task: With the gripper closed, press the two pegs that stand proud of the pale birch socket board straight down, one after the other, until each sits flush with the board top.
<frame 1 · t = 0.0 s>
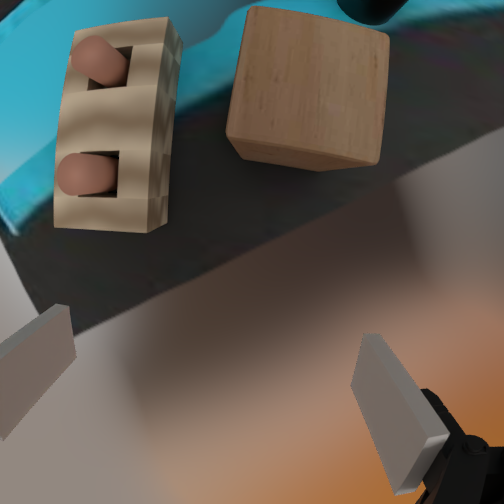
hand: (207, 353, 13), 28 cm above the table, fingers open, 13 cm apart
peg 1: (104, 64, 27), point 9 cm above the table, slide at 5.0 cm
peg 2: (92, 174, 30), point 9 cm above the table, slide at 5.0 cm
water bottle: (364, 2, 33), on the table
socket board: (129, 128, 38), on the table
wooden block: (286, 126, 38), on the table
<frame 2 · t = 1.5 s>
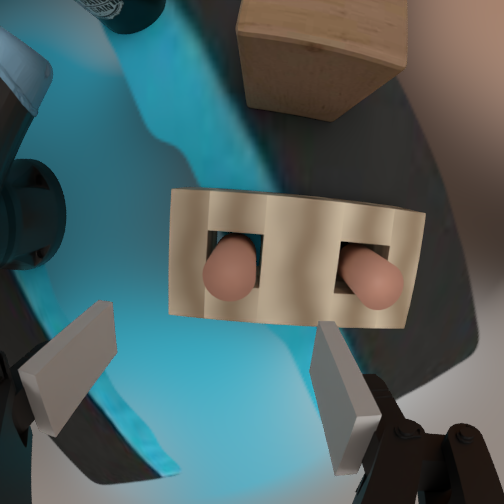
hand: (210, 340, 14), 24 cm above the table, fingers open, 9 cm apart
peg 1: (232, 263, 28), point 9 cm above the table, slide at 5.0 cm
peg 2: (366, 273, 28), point 9 cm above the table, slide at 5.0 cm
water bottle: (135, 8, 31), on the table
socket board: (291, 247, 37), on the table
wooden block: (295, 75, 33), on the table
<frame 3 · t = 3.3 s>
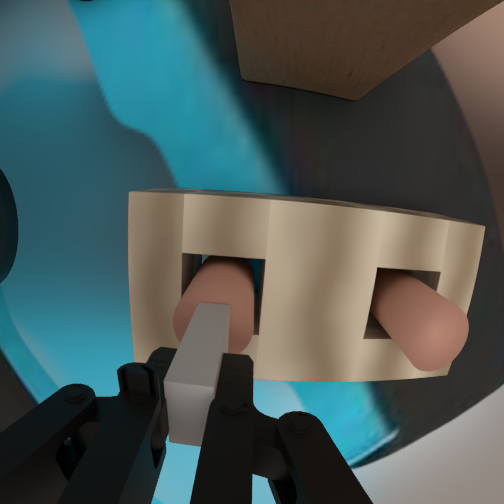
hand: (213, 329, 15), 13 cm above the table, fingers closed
peg 1: (220, 297, 19), point 8 cm above the table, slide at 4.1 cm, touching gripper
peg 2: (410, 312, 19), point 9 cm above the table, slide at 5.0 cm
socket board: (301, 268, 28), on the table
wooden block: (306, 41, 23), on the table
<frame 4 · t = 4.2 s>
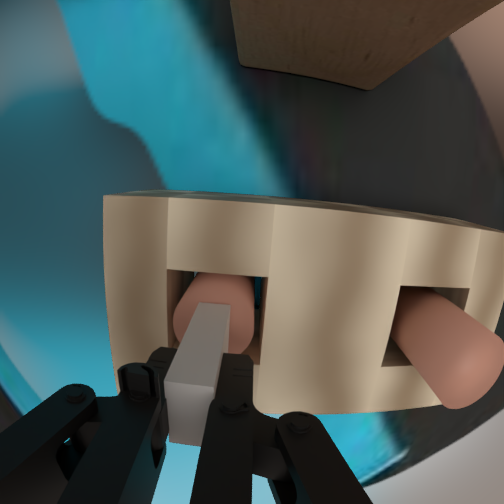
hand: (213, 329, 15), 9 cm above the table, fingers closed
peg 1: (221, 297, 19), point 5 cm above the table, slide at 0.5 cm, touching gripper
peg 2: (437, 337, 15), point 9 cm above the table, slide at 5.0 cm
socket board: (308, 281, 24), on the table
wooden block: (313, 24, 20), on the table
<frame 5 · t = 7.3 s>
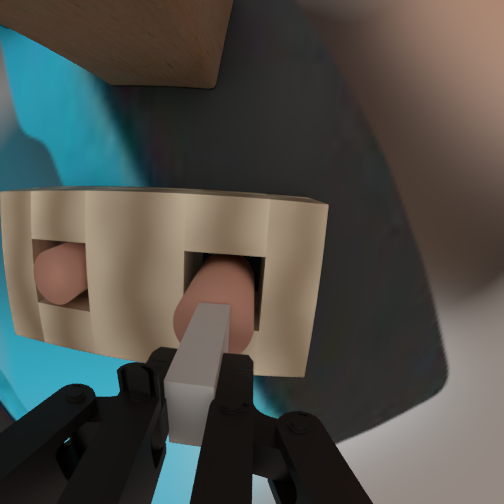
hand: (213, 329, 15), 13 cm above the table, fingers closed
peg 1: (79, 263, 24), point 5 cm above the table, slide at 0.5 cm
peg 2: (220, 297, 19), point 9 cm above the table, slide at 4.7 cm, touching gripper
socket board: (164, 256, 28), on the table
wooden block: (171, 39, 24), on the table
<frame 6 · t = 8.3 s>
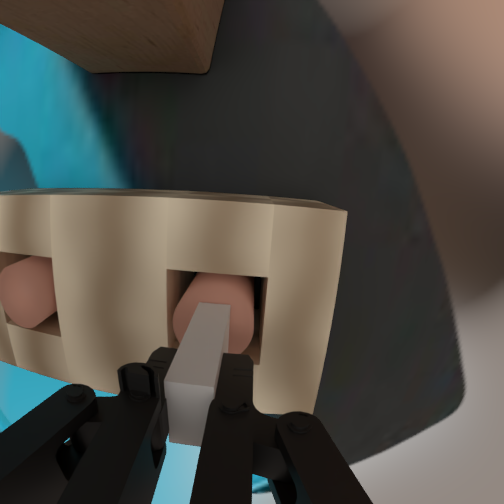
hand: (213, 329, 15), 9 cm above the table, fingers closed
peg 1: (52, 278, 19), point 5 cm above the table, slide at 0.5 cm
peg 2: (220, 298, 19), point 5 cm above the table, slide at 0.6 cm, touching gripper
socket board: (149, 268, 24), on the table
wooden block: (159, 20, 20), on the table
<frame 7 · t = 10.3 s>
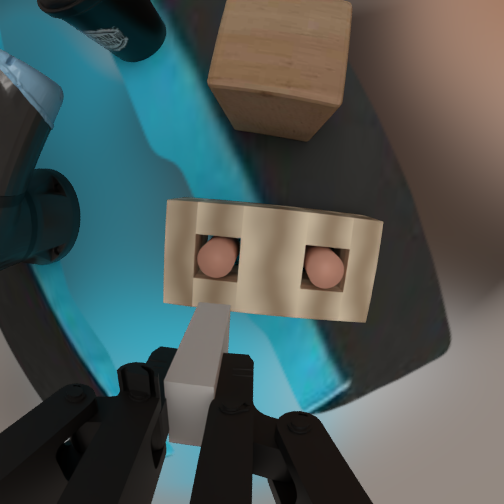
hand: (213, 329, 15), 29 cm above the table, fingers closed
peg 1: (220, 252, 39), point 5 cm above the table, slide at 0.5 cm
peg 2: (320, 262, 39), point 5 cm above the table, slide at 0.5 cm
water bottle: (139, 38, 38), on the table
socket board: (270, 250, 43), on the table
wooden block: (277, 101, 40), on the table
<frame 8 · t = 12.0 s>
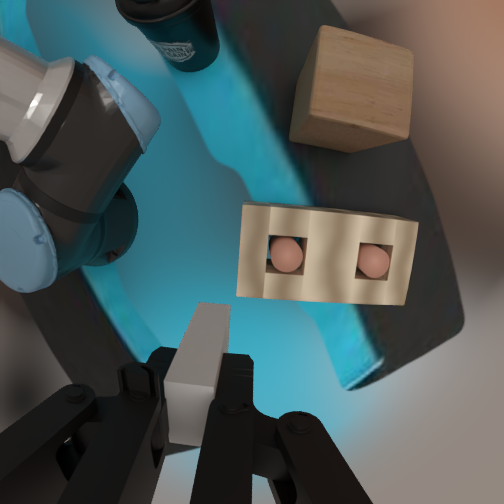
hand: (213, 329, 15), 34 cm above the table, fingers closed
peg 1: (284, 250, 45), point 5 cm above the table, slide at 0.5 cm
peg 2: (366, 256, 45), point 5 cm above the table, slide at 0.5 cm
water bottle: (193, 49, 43), on the table
socket board: (320, 246, 49), on the table
wooden block: (324, 116, 45), on the table
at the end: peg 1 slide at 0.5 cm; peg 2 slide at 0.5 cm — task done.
